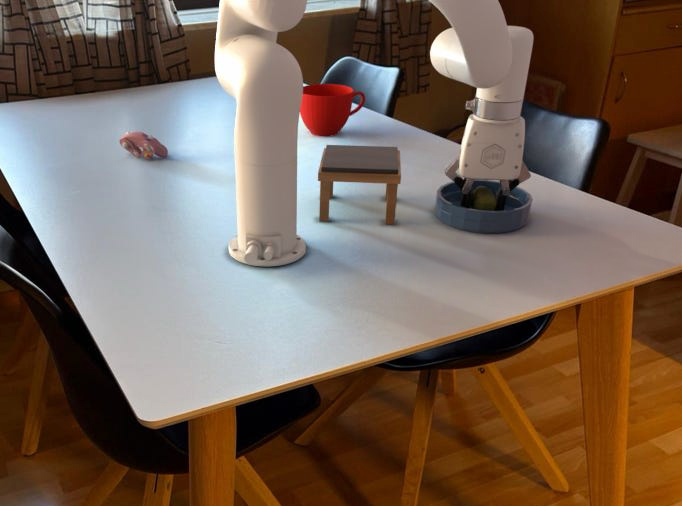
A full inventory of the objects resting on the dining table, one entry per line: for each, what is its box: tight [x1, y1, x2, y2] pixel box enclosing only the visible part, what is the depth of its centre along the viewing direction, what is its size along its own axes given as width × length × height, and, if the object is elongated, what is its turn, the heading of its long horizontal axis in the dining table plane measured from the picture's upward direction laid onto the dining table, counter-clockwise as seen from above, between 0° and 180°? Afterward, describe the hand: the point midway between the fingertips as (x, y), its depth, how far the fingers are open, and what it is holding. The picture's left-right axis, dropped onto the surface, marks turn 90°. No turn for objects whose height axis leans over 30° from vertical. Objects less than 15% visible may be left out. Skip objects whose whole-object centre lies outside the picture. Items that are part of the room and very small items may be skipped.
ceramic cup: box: [299, 83, 366, 138], centre depth 172 cm, size 13×17×10 cm
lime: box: [470, 186, 497, 211], centre depth 127 cm, size 4×5×5 cm
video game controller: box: [119, 131, 169, 160], centre depth 158 cm, size 10×5×7 cm, turn 62°
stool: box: [317, 144, 402, 225], centre depth 130 cm, size 14×14×10 cm
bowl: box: [434, 180, 533, 234], centre depth 128 cm, size 16×16×4 cm
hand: (481, 212), depth 129 cm, fingers closed on lime, 4 cm apart
